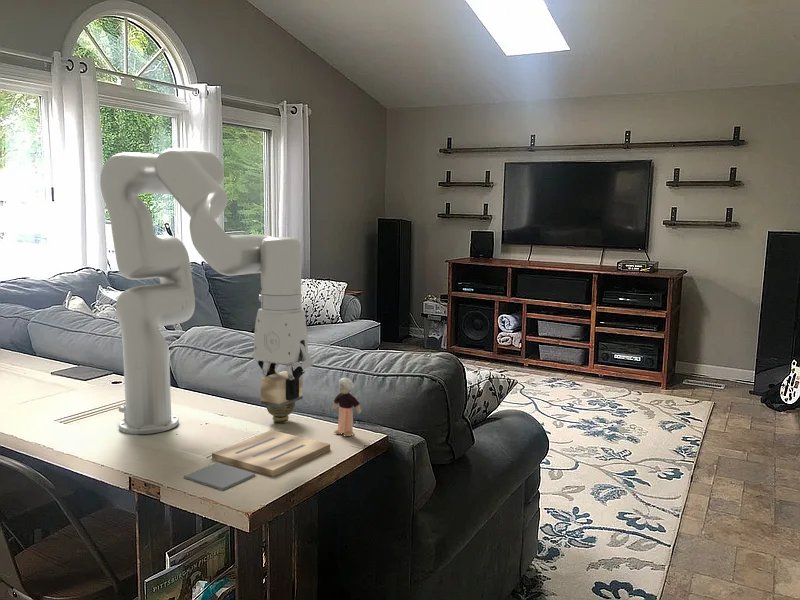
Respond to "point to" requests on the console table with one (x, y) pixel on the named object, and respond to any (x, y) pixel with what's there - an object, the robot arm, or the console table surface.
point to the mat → (219, 476)
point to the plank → (271, 452)
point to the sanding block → (277, 390)
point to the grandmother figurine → (346, 407)
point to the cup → (281, 412)
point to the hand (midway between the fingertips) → (282, 395)
